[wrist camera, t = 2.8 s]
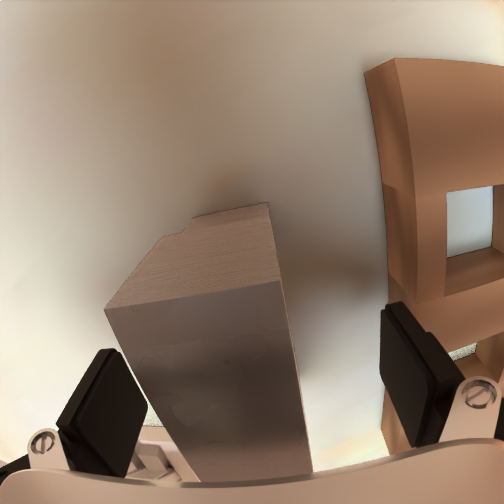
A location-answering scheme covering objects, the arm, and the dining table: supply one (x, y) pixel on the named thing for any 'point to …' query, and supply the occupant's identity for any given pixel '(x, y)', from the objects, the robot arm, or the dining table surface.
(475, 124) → the wooden frame
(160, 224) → the dining table surface
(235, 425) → the grey rectangular block
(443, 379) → the robot arm
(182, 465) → the security camera
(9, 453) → the dining table surface
